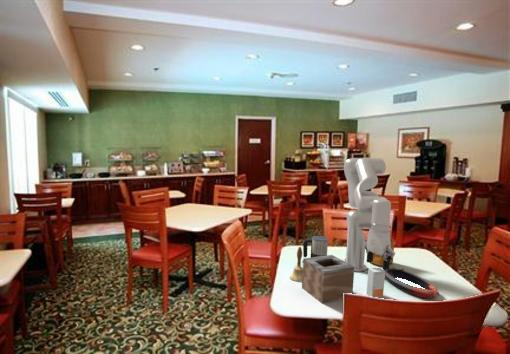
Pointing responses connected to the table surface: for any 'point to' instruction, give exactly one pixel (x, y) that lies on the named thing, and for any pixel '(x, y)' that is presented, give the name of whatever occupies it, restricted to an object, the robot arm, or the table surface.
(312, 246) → the milk frother
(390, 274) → the dish
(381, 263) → the coffee package
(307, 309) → the table surface
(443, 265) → the table surface
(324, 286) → the slot box
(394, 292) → the table surface
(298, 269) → the hand bell
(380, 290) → the skincare box
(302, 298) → the table surface
